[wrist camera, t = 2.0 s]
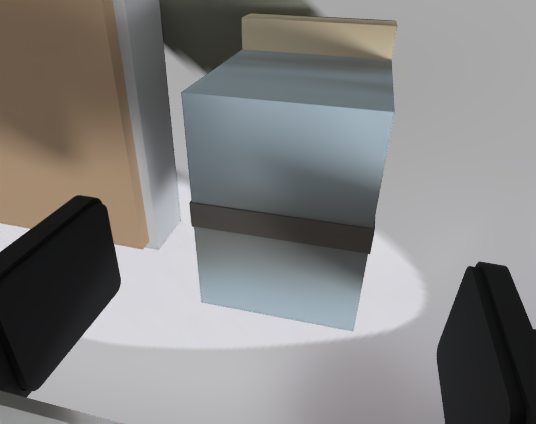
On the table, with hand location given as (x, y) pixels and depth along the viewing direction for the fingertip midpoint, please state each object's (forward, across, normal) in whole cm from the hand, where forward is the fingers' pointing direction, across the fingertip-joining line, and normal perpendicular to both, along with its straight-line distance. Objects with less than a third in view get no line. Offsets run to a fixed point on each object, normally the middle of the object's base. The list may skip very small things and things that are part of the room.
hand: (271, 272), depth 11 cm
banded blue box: (+8, 0, -1) cm, 8 cm away
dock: (+7, +12, -2) cm, 14 cm away
